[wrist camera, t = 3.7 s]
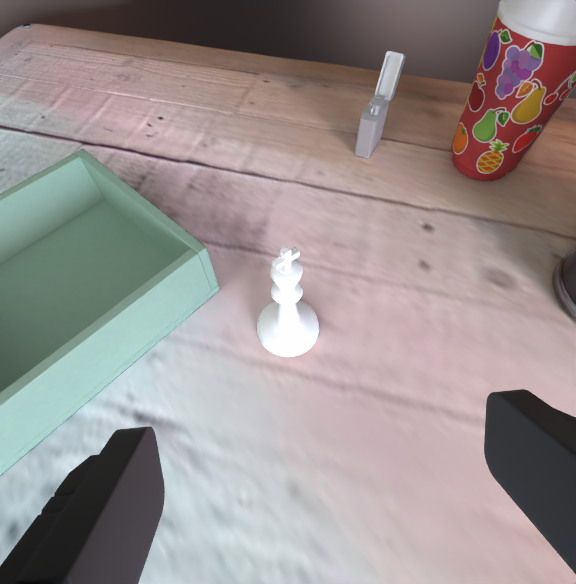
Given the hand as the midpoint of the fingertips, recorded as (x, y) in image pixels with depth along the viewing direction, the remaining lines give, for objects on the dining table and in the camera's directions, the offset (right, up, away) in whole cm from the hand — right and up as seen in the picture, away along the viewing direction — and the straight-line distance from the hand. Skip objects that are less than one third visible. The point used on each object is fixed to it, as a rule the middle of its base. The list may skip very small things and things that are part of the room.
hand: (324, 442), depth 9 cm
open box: (-19, +2, +22) cm, 29 cm away
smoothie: (+20, +17, +31) cm, 40 cm away
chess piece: (-1, +1, +21) cm, 21 cm away
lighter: (+9, +21, +33) cm, 40 cm away
